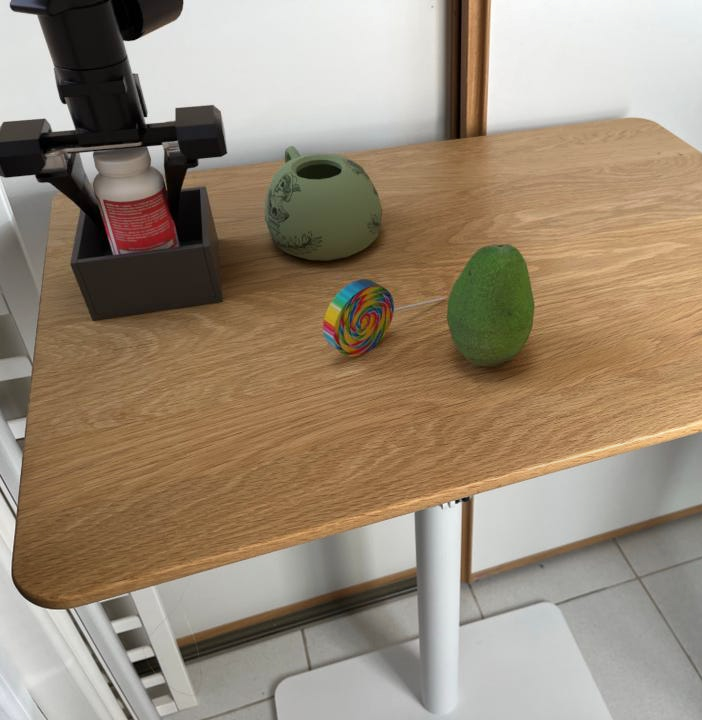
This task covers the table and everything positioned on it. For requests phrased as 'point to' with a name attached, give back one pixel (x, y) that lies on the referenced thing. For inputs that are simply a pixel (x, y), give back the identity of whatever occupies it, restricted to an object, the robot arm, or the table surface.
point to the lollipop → (360, 317)
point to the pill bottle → (133, 201)
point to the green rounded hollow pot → (322, 207)
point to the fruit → (491, 306)
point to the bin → (150, 266)
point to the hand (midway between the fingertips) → (140, 223)
